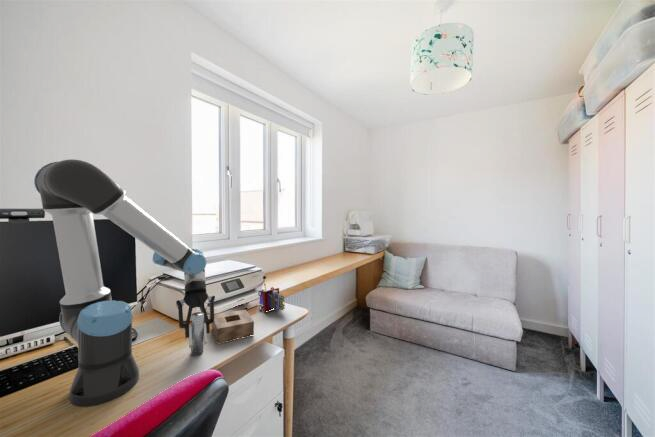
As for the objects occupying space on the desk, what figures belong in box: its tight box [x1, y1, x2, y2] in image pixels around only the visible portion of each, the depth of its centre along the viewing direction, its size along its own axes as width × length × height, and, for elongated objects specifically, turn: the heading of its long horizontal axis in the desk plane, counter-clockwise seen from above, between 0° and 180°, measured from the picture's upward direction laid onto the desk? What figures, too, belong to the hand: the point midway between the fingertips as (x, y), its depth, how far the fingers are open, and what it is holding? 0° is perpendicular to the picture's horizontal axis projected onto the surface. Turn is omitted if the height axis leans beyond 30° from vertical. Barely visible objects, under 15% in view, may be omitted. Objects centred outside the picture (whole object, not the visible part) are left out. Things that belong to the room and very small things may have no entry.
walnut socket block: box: [211, 309, 255, 345], centre depth 109 cm, size 14×14×6 cm
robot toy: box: [257, 275, 286, 314], centre depth 133 cm, size 17×9×20 cm
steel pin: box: [190, 311, 205, 357], centre depth 93 cm, size 4×4×14 cm
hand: (198, 344), depth 90 cm, fingers closed on steel pin, 4 cm apart
